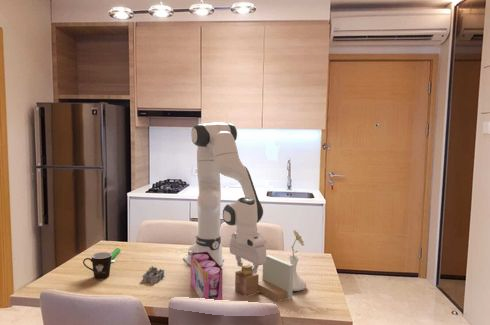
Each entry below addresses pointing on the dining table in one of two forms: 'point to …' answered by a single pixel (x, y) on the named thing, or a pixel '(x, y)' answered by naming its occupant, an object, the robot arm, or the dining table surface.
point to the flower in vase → (297, 281)
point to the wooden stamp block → (246, 281)
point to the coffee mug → (100, 264)
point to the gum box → (206, 276)
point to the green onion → (115, 254)
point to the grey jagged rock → (150, 275)
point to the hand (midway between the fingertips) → (247, 269)
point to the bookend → (276, 279)
